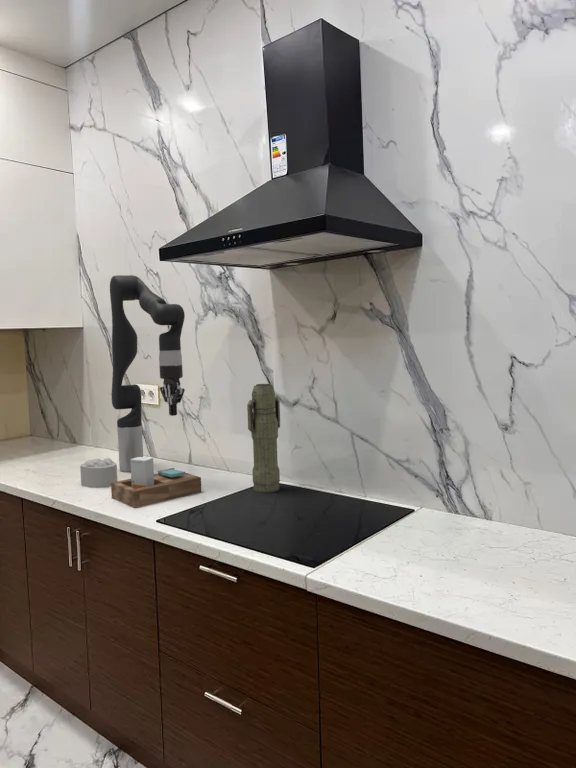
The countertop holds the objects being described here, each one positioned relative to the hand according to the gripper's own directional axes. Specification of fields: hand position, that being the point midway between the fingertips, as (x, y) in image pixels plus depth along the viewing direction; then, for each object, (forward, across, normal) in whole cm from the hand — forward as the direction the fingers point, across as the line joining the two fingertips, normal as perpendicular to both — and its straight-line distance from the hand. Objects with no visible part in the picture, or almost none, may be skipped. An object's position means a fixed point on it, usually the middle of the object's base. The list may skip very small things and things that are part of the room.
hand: (173, 415), depth 196 cm
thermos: (+25, +24, +20) cm, 40 cm away
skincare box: (+24, +3, -14) cm, 28 cm away
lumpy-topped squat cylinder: (+25, -25, -16) cm, 39 cm away
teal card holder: (+20, +3, -3) cm, 20 cm away
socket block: (+25, +3, -9) cm, 27 cm away
